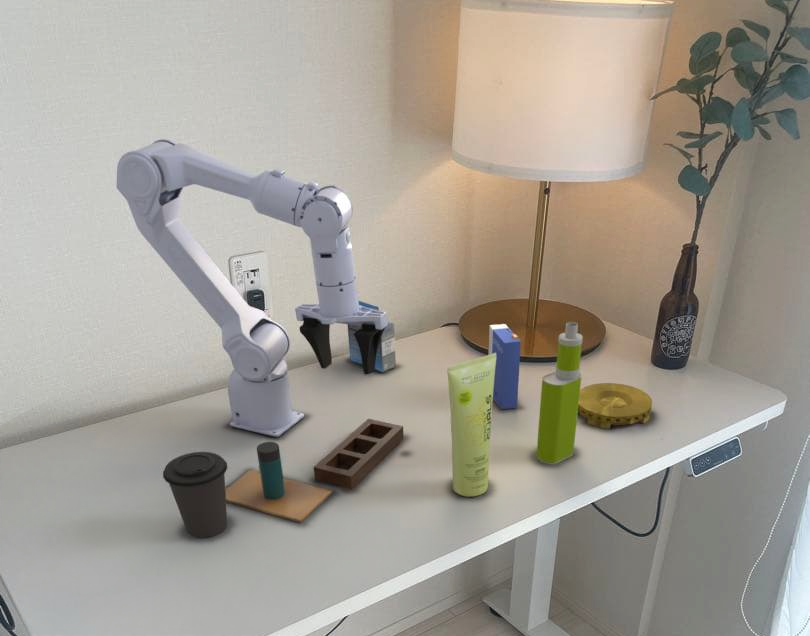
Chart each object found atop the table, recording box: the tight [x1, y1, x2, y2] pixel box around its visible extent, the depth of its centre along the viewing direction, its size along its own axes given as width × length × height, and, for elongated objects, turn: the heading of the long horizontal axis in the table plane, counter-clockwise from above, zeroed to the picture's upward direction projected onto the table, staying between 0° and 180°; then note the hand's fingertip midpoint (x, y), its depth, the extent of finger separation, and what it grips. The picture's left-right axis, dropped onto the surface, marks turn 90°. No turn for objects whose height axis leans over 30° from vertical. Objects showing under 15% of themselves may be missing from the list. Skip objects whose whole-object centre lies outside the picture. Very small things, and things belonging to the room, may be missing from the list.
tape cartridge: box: [347, 300, 397, 373], centre depth 145 cm, size 9×4×12 cm, turn 46°
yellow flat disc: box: [578, 382, 653, 429], centre depth 130 cm, size 12×12×2 cm
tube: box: [447, 353, 496, 497], centre depth 107 cm, size 6×5×20 cm
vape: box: [536, 321, 584, 465], centre depth 114 cm, size 4×6×20 cm, turn 129°
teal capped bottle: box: [256, 441, 285, 499], centre depth 110 cm, size 3×3×8 cm
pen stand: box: [313, 418, 405, 490], centre depth 120 cm, size 6×16×2 cm, turn 153°
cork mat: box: [225, 469, 333, 523], centre depth 113 cm, size 14×8×1 cm, turn 63°
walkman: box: [487, 323, 522, 410], centre depth 132 cm, size 8×3×12 cm, turn 13°
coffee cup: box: [162, 451, 228, 539], centre depth 104 cm, size 8×8×10 cm
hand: (347, 368), depth 122 cm, fingers open, 7 cm apart
